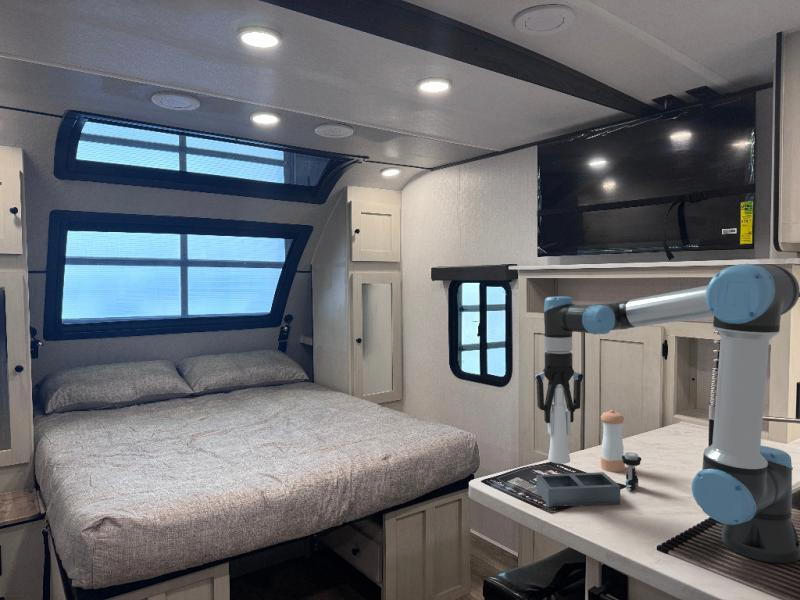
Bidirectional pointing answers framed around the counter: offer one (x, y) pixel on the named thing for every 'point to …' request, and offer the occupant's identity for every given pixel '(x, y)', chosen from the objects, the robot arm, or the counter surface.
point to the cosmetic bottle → (559, 429)
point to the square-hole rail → (578, 489)
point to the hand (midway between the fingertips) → (559, 433)
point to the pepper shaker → (612, 442)
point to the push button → (631, 470)
